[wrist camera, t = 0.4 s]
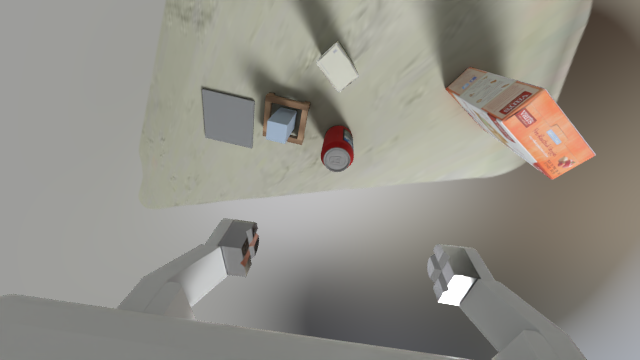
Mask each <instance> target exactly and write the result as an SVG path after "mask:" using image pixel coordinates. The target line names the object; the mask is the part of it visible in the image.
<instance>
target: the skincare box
mask: <svg viewBox="0 0 640 360" xmlns="http://www.w3.org/2000/svg"><path fill="white" fill-rule="evenodd" d="M316 63H317V65H318V66H319V68H320V69H321V71H322V72H323V73H324V75H325V76H326V77H327V79H328V80H329V81H330V83H331V84H332V85H333V87H334V88H335V89H336V90H337V92H340V91H342V90H343V89H344V88H345V87H347V86H348V85H349V84H351V83H352V82H353V81H354V80H355V79H357V78H358V77H359V75H358V72H357V70H356V68H355V66H354V64H353V63H352V61H351V60H350V58H349V56H348V55H347V53H346V52H345V50H344V49H343V47H342V46H341V45H340V43H339V42H338V41H337V42H336V43H334V44H333V45H332V46H331V47H330V48H329V49H328V50H327V51H326V52H325V53H324V54H323V55H322V56H321V57H320V58H319V59H318V60H317V62H316Z"/></svg>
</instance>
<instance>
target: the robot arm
mask: <svg viewBox="0 0 640 360" xmlns="http://www.w3.org/2000/svg"><path fill="white" fill-rule="evenodd" d="M257 229H258V227H257V223H255V222H248V221H242V220H233V219H223V220H221V222H220V223H219V225H218V226H217V227H216V229H215V230H214V232H213V233H212V235H211V236H210V237H209V239H208V240H207V242H206V243H205V245H203V244H201V245H199V246H197V247H196V248H194V249H192V250H191V251H189V252H187V253H185V254H184V255H181V256H180V257H178V258H176V259H174V260H173V261H171V262H169V263H167V264H166V265H164V266H162V267H160V268H159V269H157V270H155V271H153V272H151V273H150V274H148V275H146V276H144V277H143V278H142V279H141V280H140V282H139V283H138V284H137V285H136V286H135V288H134V289H133V290H132V291H131V292H130V293H129V294H128V296H127V297H126V298H125V299H124V300H123V302H122V303H121V304H120V305H119V306H118V307H117V309H114V308H107V307H100V306H93V305H86V304H79V303H72V302H65V301H58V300H52V299H45V298H38V297H31V296H24V295H17V294H9V295H3V296H0V360H471V359H463V358H457V357H450V356H443V355H436V354H429V353H422V352H415V351H408V350H401V349H394V348H387V347H380V346H373V345H366V344H359V343H352V342H345V341H338V340H331V339H323V338H316V337H310V336H303V335H296V334H289V333H282V332H275V331H268V330H261V329H254V328H247V327H240V326H233V325H226V324H219V323H212V322H205V321H198V320H196V318H195V316H194V314H193V311H192V309H191V307H192V306H193V305H194V304H195V303H197V302H198V301H199V300H200V299H201V298H202V297H203V296H205V295H206V294H207V293H208V292H209V291H210V290H211V289H212V288H214V287H215V286H216V285H217V284H219V283H220V282H221V281H222V280H223V279H224V278H225V277H227V275H234V276H244V277H246V276H247V274H248V271H249V269H250V266H251V264H252V263H251V258H253V257H254V256H255V255H256V252H257V249H258V245H259V236H258V235H257V234H256V231H257ZM433 250H434V253H435V254H434V255H432V256H430V258H429V260H428V266H427V269H428V274H429V277H430V279H431V280H432V281H434V283H435V284H434V286H433V289H434V292H435V294H436V297H437V300H438V302H441V303H447V304H453V305H459V307H460V308H461V310H462V311H463V312H464V313H465V314H466V315H467V316H468V318H469V319H470V320H471V321H472V322H473V323H474V325H475V326H476V327H477V328H478V329H479V330H480V331H481V332H482V334H483V335H484V336H485V337H486V338H487V339H488V341H489V342H490V343H491V344H492V345H493V346H494V347H495V349H496V350H497V351H498V352H499V353H498V354H497V355H496V356H495V357H494V358H493V359H492V360H587V359H586V358H585V357H584V355H583V354H582V353H581V351H580V350H579V348H578V347H577V346H576V345H575V343H574V342H573V341H572V339H571V338H570V336H569V335H568V334H567V333H565V332H564V331H563V330H561V329H560V328H559V327H557V326H556V325H555V324H554V323H552V322H551V321H550V320H548V319H547V318H546V317H544V316H543V315H542V314H541V313H539V312H538V311H537V310H535V309H534V308H533V307H531V306H530V305H529V304H528V303H526V302H525V301H524V300H522V299H521V298H520V297H519V296H517V295H516V294H515V293H513V292H512V291H511V290H509V289H508V288H507V287H506V286H504V285H503V284H502V283H500V282H497V281H495V280H494V278H493V276H492V275H491V273H490V272H489V270H488V268H487V267H486V265H485V264H484V262H483V260H482V259H481V257H480V255H479V254H478V252H477V251H476V250H475V249H474V248H469V247H459V246H450V245H441V244H437V245H436V246H435V248H434V249H433Z"/></svg>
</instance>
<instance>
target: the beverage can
mask: <svg viewBox="0 0 640 360" xmlns="http://www.w3.org/2000/svg"><path fill="white" fill-rule="evenodd" d="M353 158H354V153H353V137H352V134H351V132H350V130H349V129H347V128H346V127H344V126H334V127H331V128H330V129H329V130H328V131H327V132H326V134H325V138H324V142H323V147H322V151H321V160H322V162H323V164H324V165H325V166H326V168H328V169H329V170H331V171H333V172H341V171H344V170H345V169H346V168H348V167H349V166H350V165H351V163H352V162H353Z"/></svg>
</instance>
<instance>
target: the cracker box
mask: <svg viewBox="0 0 640 360" xmlns="http://www.w3.org/2000/svg"><path fill="white" fill-rule="evenodd" d="M446 90H447V91H448V92H449V93H450V94H451V95H452V97H453V98H454V99H455V100H456V101H457V102H458V103H459V104H460V105H461V106H462V107H463V108H464V110H465V111H466V112H467V113H468V114H469V115H470V116H471V117H472V118H473V119H474V120H475V121H476V122H477V123H478V124H479V126H480V127H481V128H482V129H483V130H484V131H486V132H487V133H489V134H490V135H491V136H493V137H494V138H495V139H497V140H498V141H500V142H501V143H502V144H504V145H505V146H506V147H508V148H509V149H510V150H512V151H513V152H515V153H516V154H517V155H519V156H520V157H522V158H523V159H524V160H526V161H527V162H528V163H530V164H531V165H532V166H534V167H535V168H536V169H538V170H539V171H541V172H542V173H543V174H545V175H546V176H547V177H549V178H550V179H555V178H556V177H558V176H560V175H562V174H563V173H565V172H567V171H569V170H570V169H572V168H574V167H575V166H577V165H579V164H581V163H583V162H584V161H586V160H588V159H590V158H592V157H593V156H595V155H596V154H595V153H594V152H593V150H592V149H591V148H590V146H589V145H588V144H587V143H586V141H585V140H584V139H583V137H582V136H581V135H580V134H579V132H578V131H577V129H576V128H575V127H574V125H573V124H572V123H571V122H570V120H569V119H568V118H567V116H566V115H565V114H564V112H563V111H562V110H561V109H560V107H559V106H558V105H557V103H556V102H555V101H554V99H553V98H552V97H551V95H550V94H549V93H548V91H547V90H546V89H545V88H542V87H538V86H535V85H531V84H528V83H524V82H521V81H518V80H514V79H511V78H507V77H504V76H500V75H497V74H493V73H490V72H486V71H483V70H479V69H476V68H472V67H469V68H468V69H467V70H465V71H464V72H463V73H462V74H461V75H460V76H459V77H458V78H457V79H456V80H455V81H454V82H452V83H451V84H450V85H449V86H448V87H447V88H446Z"/></svg>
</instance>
